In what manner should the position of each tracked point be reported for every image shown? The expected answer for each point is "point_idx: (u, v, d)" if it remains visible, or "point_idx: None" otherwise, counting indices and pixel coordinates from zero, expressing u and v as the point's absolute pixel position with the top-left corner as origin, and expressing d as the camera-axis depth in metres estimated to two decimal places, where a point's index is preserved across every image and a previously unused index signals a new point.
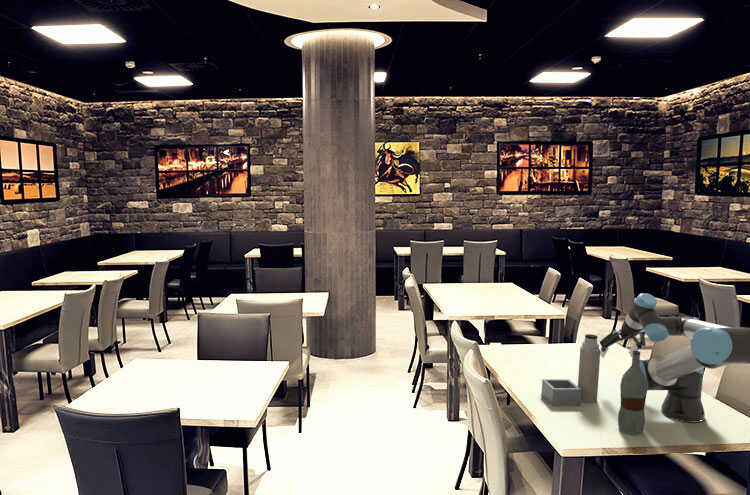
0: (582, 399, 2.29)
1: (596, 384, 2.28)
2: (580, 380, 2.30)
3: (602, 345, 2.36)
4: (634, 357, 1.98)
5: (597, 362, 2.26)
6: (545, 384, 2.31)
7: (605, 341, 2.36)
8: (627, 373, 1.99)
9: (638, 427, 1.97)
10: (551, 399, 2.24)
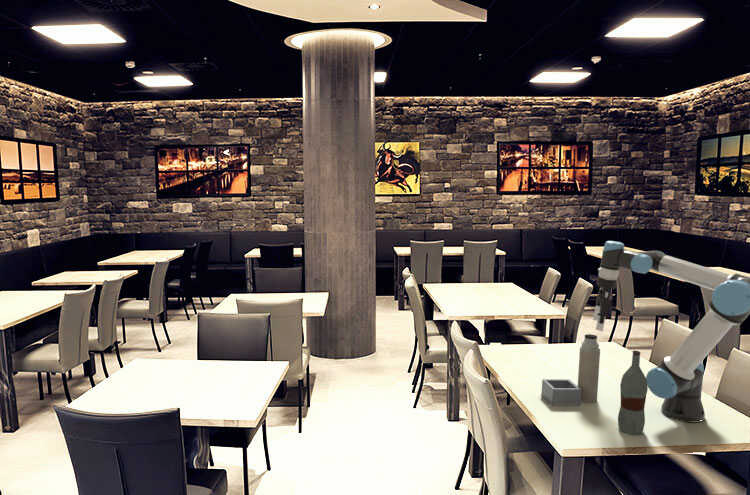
0: (582, 399, 2.29)
1: (596, 384, 2.28)
2: (580, 380, 2.29)
3: None
4: (634, 357, 1.98)
5: (597, 362, 2.26)
6: (545, 384, 2.31)
7: (606, 308, 2.22)
8: (627, 373, 1.99)
9: (638, 427, 1.97)
10: (551, 399, 2.24)
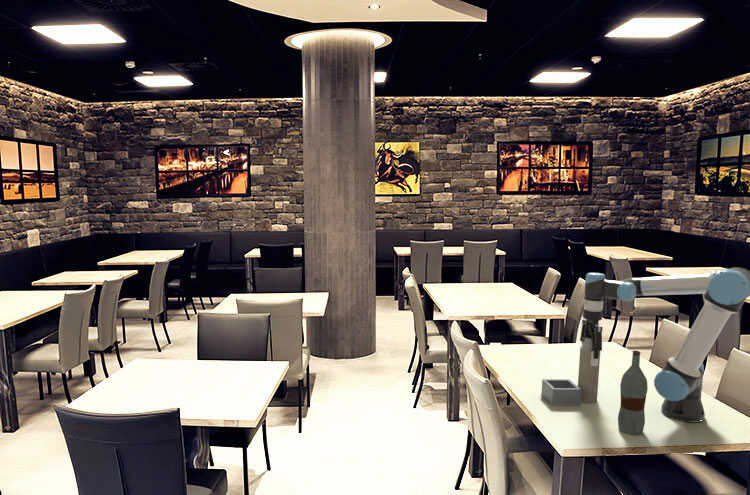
0: (582, 399, 2.29)
1: (596, 384, 2.28)
2: (580, 380, 2.30)
3: None
4: (634, 357, 1.98)
5: None
6: (545, 384, 2.31)
7: (600, 343, 2.22)
8: (627, 373, 1.99)
9: (638, 427, 1.97)
10: (551, 399, 2.24)
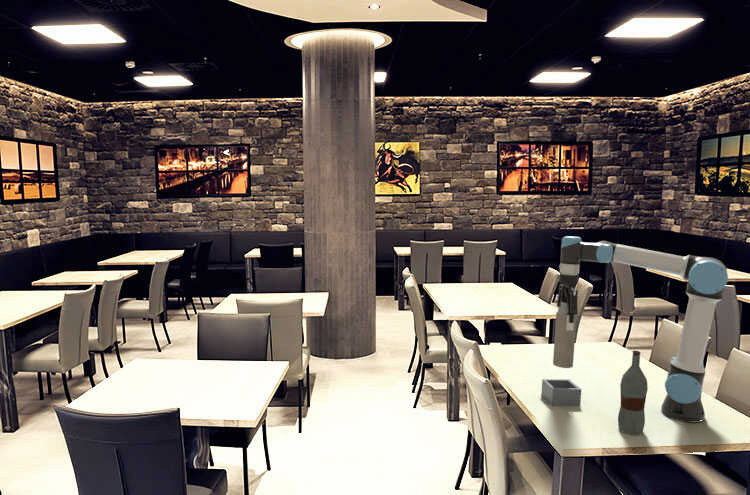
0: (558, 364, 2.26)
1: (572, 349, 2.25)
2: (556, 345, 2.27)
3: None
4: (634, 357, 1.98)
5: None
6: (545, 384, 2.31)
7: (575, 307, 2.19)
8: (627, 373, 1.99)
9: (638, 427, 1.97)
10: (551, 399, 2.24)
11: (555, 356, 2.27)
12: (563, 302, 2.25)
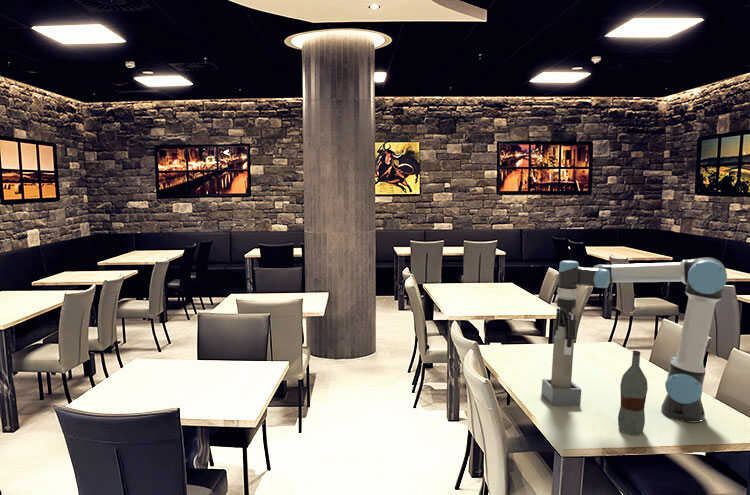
0: None
1: (570, 373, 2.26)
2: (554, 369, 2.27)
3: None
4: (634, 357, 1.98)
5: None
6: (545, 384, 2.31)
7: (573, 331, 2.20)
8: (627, 373, 1.99)
9: (638, 427, 1.97)
10: (551, 399, 2.24)
11: (553, 380, 2.28)
12: (561, 326, 2.25)
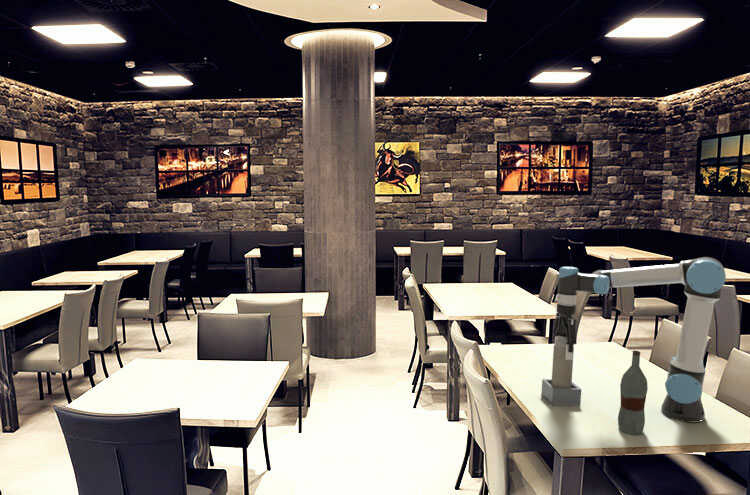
0: None
1: (569, 382, 2.26)
2: (553, 378, 2.28)
3: (576, 341, 2.18)
4: (634, 357, 1.98)
5: (570, 360, 2.24)
6: (545, 384, 2.31)
7: (574, 336, 2.19)
8: (627, 373, 1.99)
9: (638, 427, 1.97)
10: (551, 399, 2.24)
11: None
12: (560, 336, 2.25)
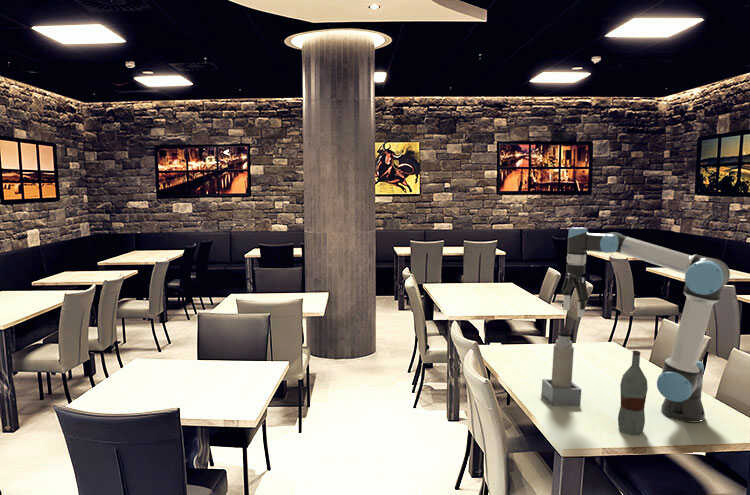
0: None
1: (569, 382, 2.26)
2: (553, 378, 2.28)
3: (588, 298, 2.21)
4: (634, 357, 1.98)
5: (570, 360, 2.25)
6: (545, 384, 2.31)
7: (586, 293, 2.22)
8: (627, 373, 1.99)
9: (638, 427, 1.97)
10: (551, 399, 2.24)
11: None
12: (560, 336, 2.26)
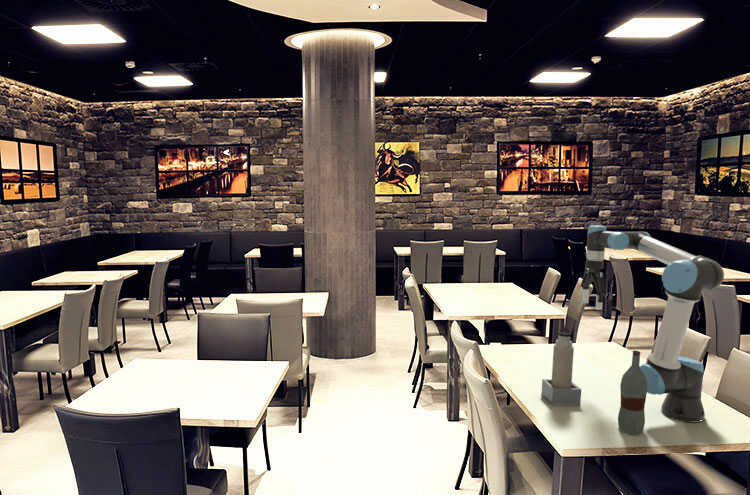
0: None
1: (569, 382, 2.26)
2: (553, 378, 2.28)
3: None
4: (634, 357, 1.98)
5: (570, 360, 2.25)
6: (545, 384, 2.31)
7: (603, 287, 2.36)
8: (627, 373, 1.99)
9: (638, 427, 1.97)
10: (551, 399, 2.24)
11: None
12: (560, 336, 2.26)
